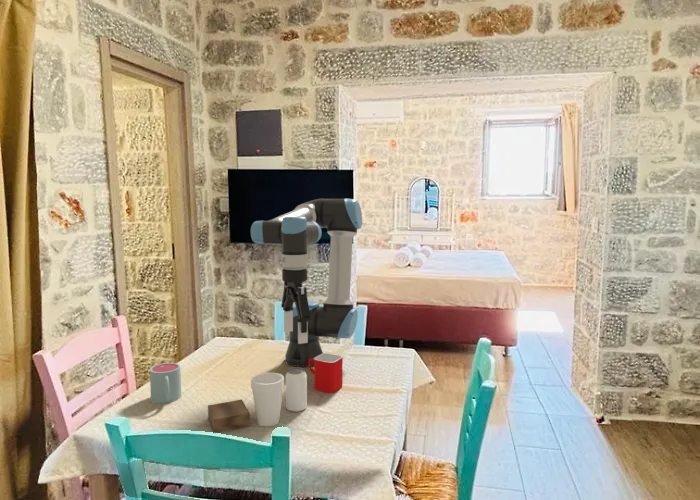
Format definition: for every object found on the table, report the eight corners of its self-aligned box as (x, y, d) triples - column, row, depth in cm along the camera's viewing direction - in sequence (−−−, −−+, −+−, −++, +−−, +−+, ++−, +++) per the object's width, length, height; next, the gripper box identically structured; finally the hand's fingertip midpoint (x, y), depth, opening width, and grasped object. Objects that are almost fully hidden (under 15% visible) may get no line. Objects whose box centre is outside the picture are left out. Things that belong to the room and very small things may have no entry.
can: (303, 413, 148) (303, 375, 147) (283, 411, 150) (282, 373, 148) (309, 404, 155) (309, 367, 153) (289, 402, 156) (289, 366, 155)
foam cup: (254, 414, 148) (253, 372, 146) (285, 413, 148) (284, 371, 147) (250, 429, 138) (249, 385, 137) (283, 428, 139) (282, 384, 137)
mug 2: (344, 385, 170) (344, 355, 169) (332, 394, 162) (332, 363, 161) (315, 379, 175) (315, 350, 174) (302, 387, 168) (302, 357, 167)
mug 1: (150, 394, 162) (149, 365, 161) (180, 390, 166) (179, 361, 165) (151, 411, 150) (150, 379, 149) (183, 406, 153) (182, 375, 152)
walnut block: (242, 412, 149) (241, 399, 149) (249, 426, 140) (249, 412, 140) (208, 418, 145) (207, 405, 144) (214, 433, 136) (213, 419, 135)
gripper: (271, 263, 157) (271, 328, 159) (296, 274, 134) (297, 350, 137) (293, 262, 160) (294, 325, 162) (321, 273, 138) (322, 346, 140)
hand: (295, 337), depth 149 cm, fingers open, 13 cm apart
